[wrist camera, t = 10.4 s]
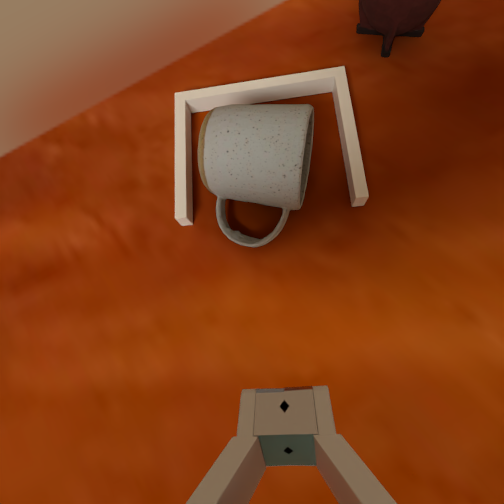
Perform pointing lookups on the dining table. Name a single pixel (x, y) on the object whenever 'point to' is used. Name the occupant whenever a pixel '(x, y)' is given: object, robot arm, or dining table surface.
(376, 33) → the mate gourd
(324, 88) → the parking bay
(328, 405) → the robot arm
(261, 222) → the dining table surface
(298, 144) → the ceramic mug
